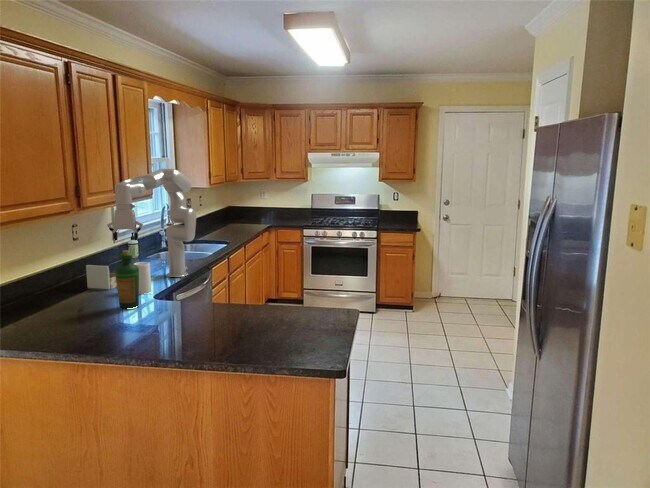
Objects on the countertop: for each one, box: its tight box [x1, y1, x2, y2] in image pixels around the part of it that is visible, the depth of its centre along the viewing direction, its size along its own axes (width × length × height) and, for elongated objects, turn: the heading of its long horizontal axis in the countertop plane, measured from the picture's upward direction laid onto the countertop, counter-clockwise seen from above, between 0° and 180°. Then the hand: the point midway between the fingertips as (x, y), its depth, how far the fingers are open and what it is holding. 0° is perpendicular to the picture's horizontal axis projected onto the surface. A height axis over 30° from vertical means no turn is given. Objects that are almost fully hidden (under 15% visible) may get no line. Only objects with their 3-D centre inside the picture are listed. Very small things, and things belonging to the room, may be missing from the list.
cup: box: [133, 261, 152, 295], centre depth 246 cm, size 8×8×16 cm
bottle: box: [114, 249, 140, 310], centre depth 219 cm, size 11×11×28 cm
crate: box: [109, 272, 117, 290], centre depth 256 cm, size 12×13×6 cm
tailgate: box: [85, 264, 111, 291], centre depth 248 cm, size 1×13×14 cm, turn 80°
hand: (126, 240), depth 238 cm, fingers open, 9 cm apart
